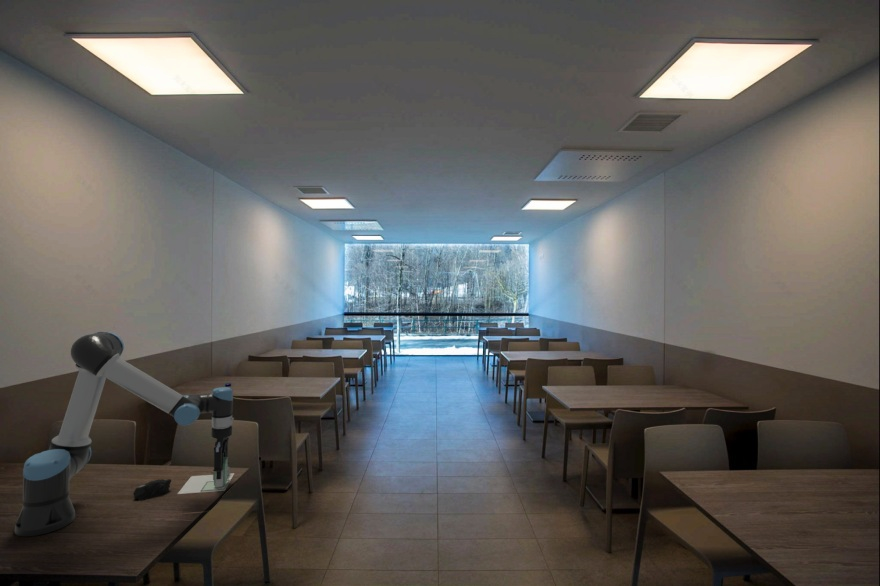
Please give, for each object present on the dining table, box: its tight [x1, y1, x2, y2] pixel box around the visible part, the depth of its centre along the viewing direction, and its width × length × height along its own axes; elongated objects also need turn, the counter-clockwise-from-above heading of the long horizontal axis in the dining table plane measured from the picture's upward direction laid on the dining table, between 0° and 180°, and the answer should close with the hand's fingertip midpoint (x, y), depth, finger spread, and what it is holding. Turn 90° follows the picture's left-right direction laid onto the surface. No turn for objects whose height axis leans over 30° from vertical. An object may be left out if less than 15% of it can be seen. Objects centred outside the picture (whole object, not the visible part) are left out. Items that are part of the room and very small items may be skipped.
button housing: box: [212, 466, 231, 480], centre depth 186 cm, size 5×5×3 cm
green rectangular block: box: [213, 456, 229, 486], centre depth 177 cm, size 4×4×11 cm
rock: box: [133, 478, 172, 501], centre depth 169 cm, size 10×9×6 cm
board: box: [177, 472, 235, 495], centre depth 180 cm, size 17×17×1 cm
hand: (220, 483), depth 177 cm, fingers closed on green rectangular block, 4 cm apart
